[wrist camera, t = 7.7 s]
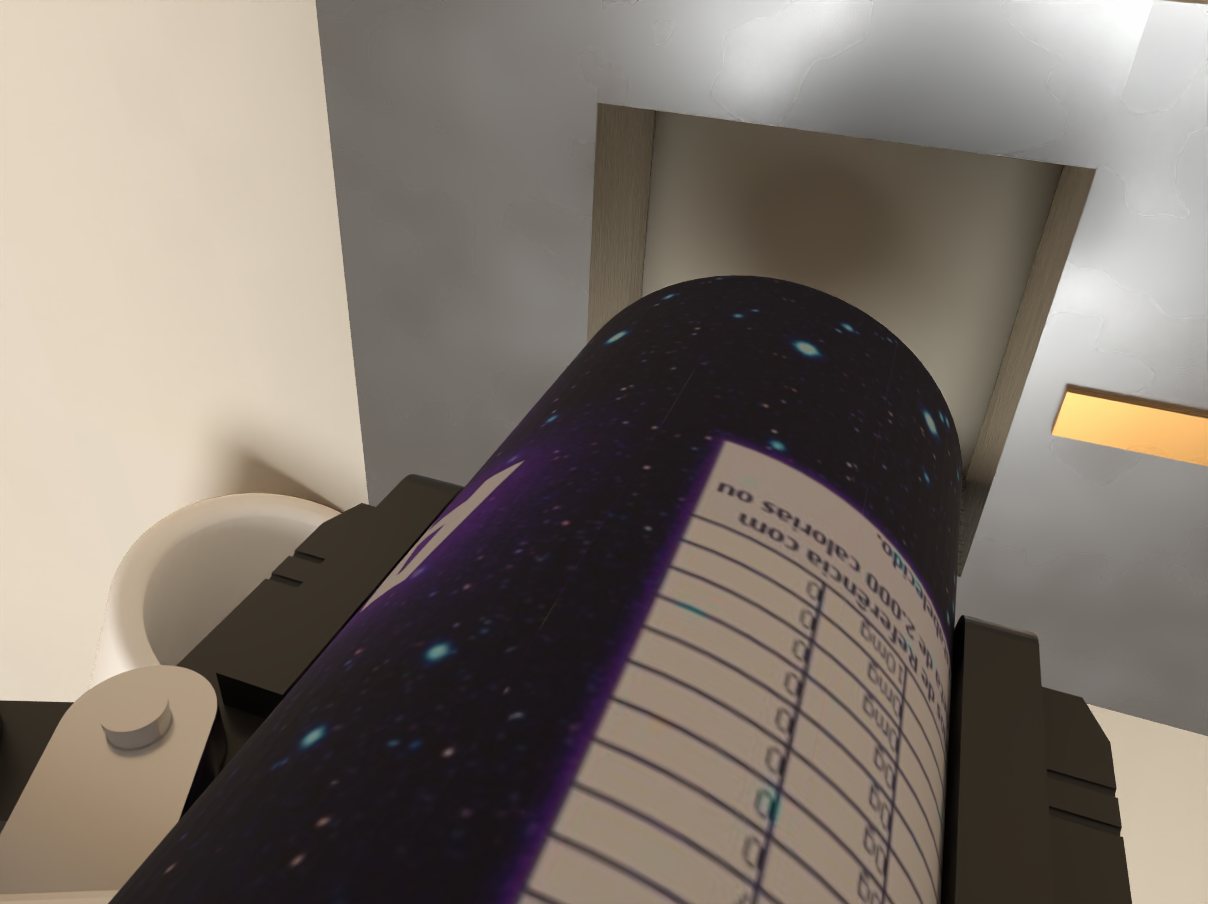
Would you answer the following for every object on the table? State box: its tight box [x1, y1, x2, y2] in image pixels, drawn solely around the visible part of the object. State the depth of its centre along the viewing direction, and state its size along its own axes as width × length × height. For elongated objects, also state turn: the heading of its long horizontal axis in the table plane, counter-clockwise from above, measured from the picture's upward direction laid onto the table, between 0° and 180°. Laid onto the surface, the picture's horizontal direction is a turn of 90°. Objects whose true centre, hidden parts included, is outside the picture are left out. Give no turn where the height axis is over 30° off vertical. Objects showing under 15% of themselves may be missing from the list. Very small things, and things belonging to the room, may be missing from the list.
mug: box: [89, 493, 341, 690], centre depth 27 cm, size 12×10×8 cm
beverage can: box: [108, 275, 962, 904], centre depth 9 cm, size 6×6×12 cm
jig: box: [316, 0, 1208, 736], centre depth 18 cm, size 18×12×4 cm, turn 88°
